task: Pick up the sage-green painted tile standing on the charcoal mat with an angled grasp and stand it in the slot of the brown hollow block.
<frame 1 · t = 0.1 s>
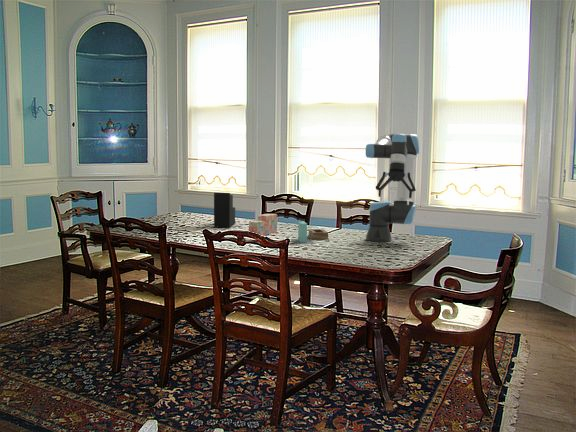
hand: (394, 203, 299), 28 cm above the table, tool tilted 20°, fingers open, 13 cm apart
mat: (302, 241, 342), on the table
stack of blocks: (263, 235, 365), on the table
tile: (302, 232, 341), on the mat
bookend: (225, 225, 399), on the table
brown hollow block: (318, 238, 355), on the table
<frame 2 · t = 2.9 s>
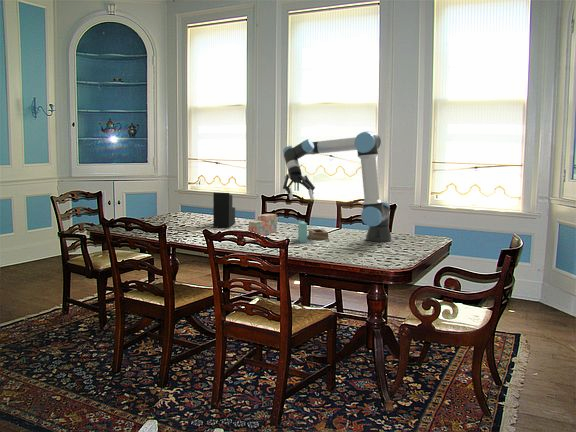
hand: (302, 199, 340), 25 cm above the table, tool tilted 40°, fingers open, 13 cm apart
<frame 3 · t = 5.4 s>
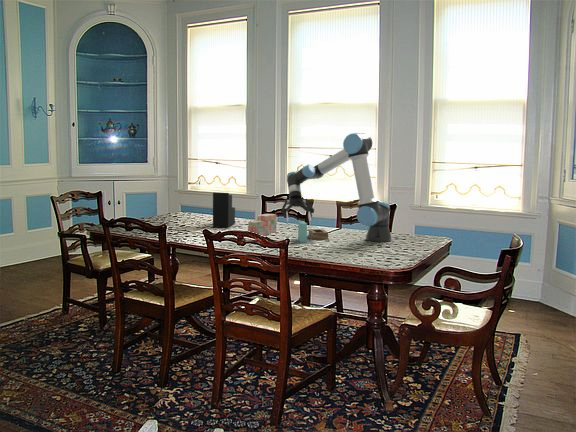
hand: (299, 221, 347), 11 cm above the table, tool tilted 45°, fingers open, 13 cm apart
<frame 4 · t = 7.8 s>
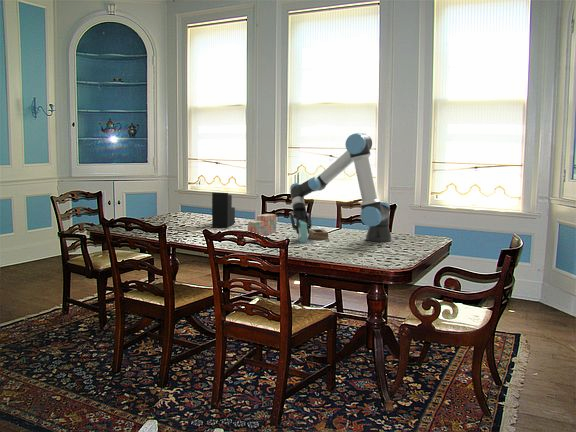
hand: (303, 237, 337), 3 cm above the table, tool tilted 45°, fingers closed on tile, 3 cm apart
tile: (302, 231, 341), on the mat, touching gripper
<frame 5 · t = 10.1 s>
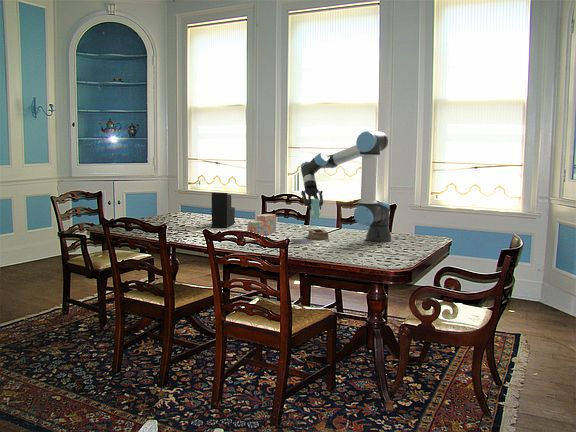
hand: (316, 214, 345), 16 cm above the table, tool tilted 45°, fingers closed on tile, 3 cm apart
tile: (314, 208, 349), point 18 cm above the table, touching gripper
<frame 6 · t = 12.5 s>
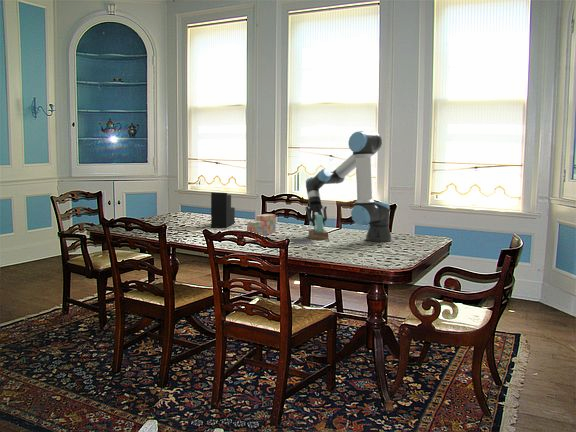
hand: (319, 229, 350), 6 cm above the table, tool tilted 45°, fingers closed on tile, 3 cm apart
tile: (318, 224, 354), point 8 cm above the table, touching gripper
when the fingers open (6 cm above the table, at t = 13.9 s): tile stays where it is, resting on brown hollow block.
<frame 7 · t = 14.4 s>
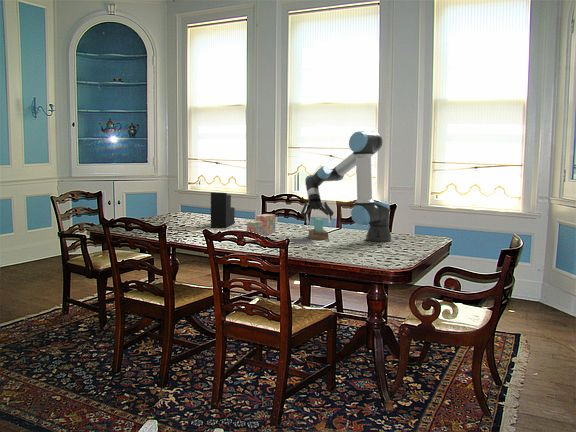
hand: (318, 224, 352), 9 cm above the table, tool tilted 45°, fingers open, 13 cm apart
tile: (318, 227, 354), in the brown hollow block, point 6 cm above the table
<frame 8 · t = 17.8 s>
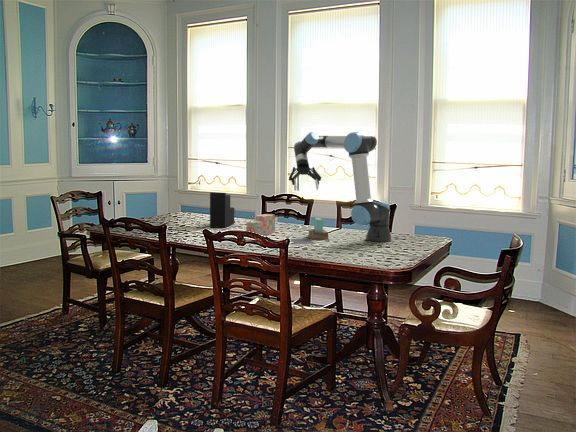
hand: (306, 188, 357), 30 cm above the table, tool tilted 45°, fingers open, 13 cm apart
at the end: tile inside the target area on the brown hollow block (0.1 cm from its centre), point 6.5 cm above the brown hollow block's base; tile tilted 0°; the gripper is holding nothing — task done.
